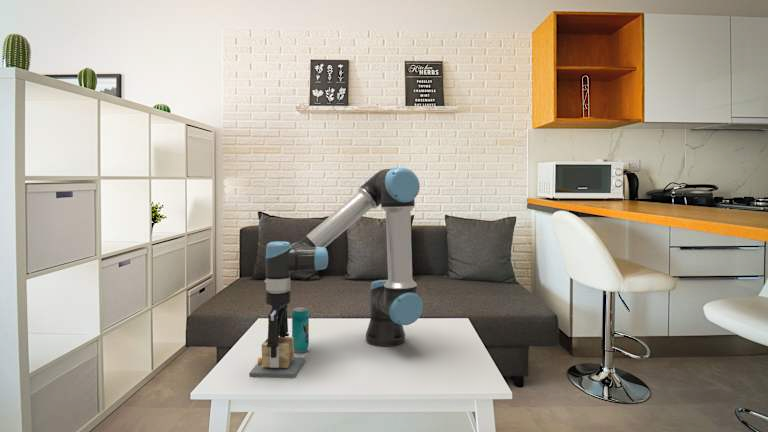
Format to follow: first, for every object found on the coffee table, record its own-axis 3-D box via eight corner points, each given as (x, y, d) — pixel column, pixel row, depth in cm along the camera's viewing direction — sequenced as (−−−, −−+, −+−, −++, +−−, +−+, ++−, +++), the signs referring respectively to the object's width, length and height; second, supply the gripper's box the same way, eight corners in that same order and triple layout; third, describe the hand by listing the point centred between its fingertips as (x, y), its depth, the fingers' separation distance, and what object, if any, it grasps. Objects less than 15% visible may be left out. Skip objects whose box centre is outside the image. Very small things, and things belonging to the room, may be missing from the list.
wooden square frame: (293, 358, 147) (293, 336, 147) (287, 367, 139) (287, 344, 139) (269, 357, 148) (269, 335, 147) (261, 366, 140) (261, 343, 139)
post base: (305, 360, 150) (304, 339, 150) (295, 377, 136) (295, 354, 136) (263, 360, 151) (263, 338, 151) (249, 376, 137) (249, 353, 137)
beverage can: (305, 354, 157) (305, 311, 156) (289, 352, 158) (289, 310, 157) (311, 348, 162) (311, 307, 162) (296, 347, 164) (295, 306, 163)
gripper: (275, 284, 153) (275, 350, 154) (255, 298, 132) (256, 374, 133) (297, 284, 153) (297, 350, 154) (281, 298, 132) (281, 375, 133)
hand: (278, 361), depth 144 cm, fingers closed on wooden square frame, 8 cm apart
